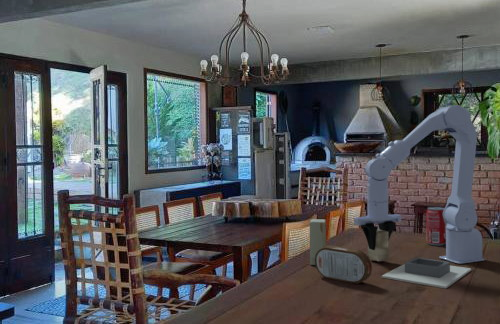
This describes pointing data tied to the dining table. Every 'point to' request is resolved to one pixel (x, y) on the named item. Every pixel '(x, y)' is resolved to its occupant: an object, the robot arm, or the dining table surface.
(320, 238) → the skincare box
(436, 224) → the soda can
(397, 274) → the peg socket
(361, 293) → the dining table surface
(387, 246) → the birch peg
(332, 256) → the tin
